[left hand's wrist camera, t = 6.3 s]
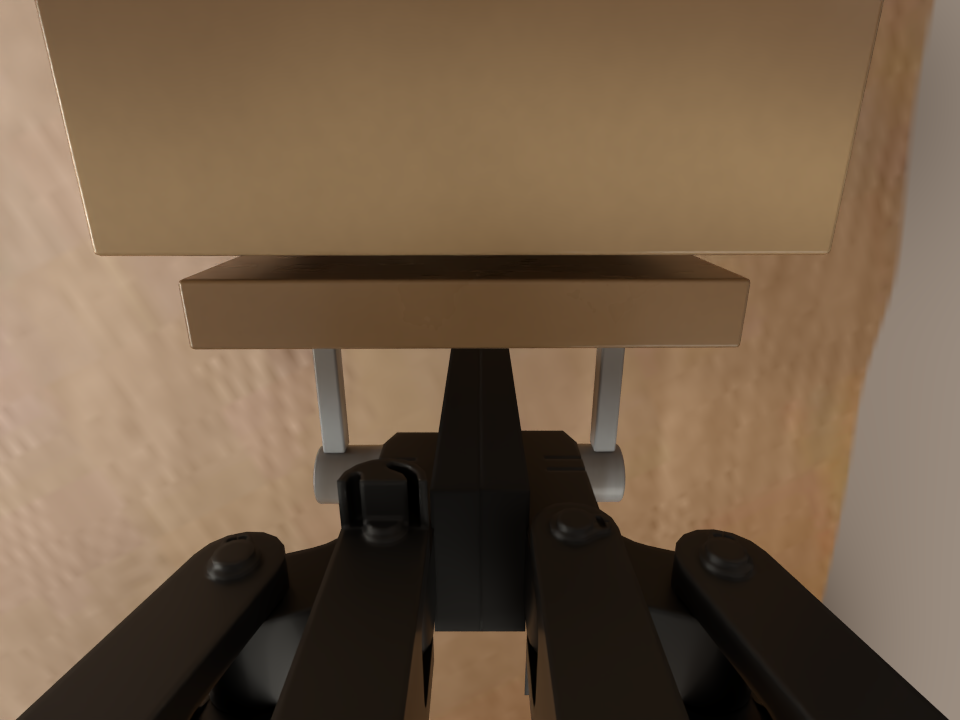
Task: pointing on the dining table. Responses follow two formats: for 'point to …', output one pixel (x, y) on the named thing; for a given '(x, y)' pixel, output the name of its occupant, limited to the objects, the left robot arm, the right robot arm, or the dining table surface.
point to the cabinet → (460, 124)
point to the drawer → (465, 322)
